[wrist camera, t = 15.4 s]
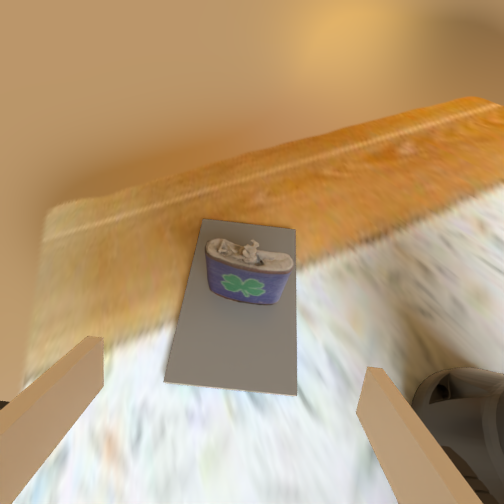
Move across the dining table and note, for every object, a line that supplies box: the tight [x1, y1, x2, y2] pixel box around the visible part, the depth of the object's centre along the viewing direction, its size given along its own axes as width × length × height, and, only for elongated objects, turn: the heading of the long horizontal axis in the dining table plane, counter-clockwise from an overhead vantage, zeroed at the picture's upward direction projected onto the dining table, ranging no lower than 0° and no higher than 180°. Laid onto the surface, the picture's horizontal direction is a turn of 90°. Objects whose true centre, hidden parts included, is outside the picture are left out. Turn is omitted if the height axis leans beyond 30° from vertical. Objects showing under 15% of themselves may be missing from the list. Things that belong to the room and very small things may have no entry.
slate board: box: [164, 219, 297, 396], centre depth 33 cm, size 14×22×2 cm, turn 175°
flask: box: [205, 238, 294, 306], centre depth 28 cm, size 9×3×11 cm, turn 78°
